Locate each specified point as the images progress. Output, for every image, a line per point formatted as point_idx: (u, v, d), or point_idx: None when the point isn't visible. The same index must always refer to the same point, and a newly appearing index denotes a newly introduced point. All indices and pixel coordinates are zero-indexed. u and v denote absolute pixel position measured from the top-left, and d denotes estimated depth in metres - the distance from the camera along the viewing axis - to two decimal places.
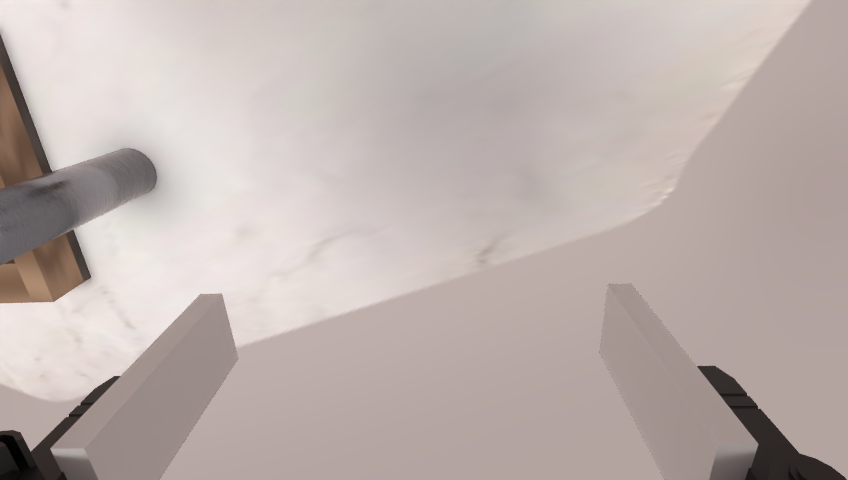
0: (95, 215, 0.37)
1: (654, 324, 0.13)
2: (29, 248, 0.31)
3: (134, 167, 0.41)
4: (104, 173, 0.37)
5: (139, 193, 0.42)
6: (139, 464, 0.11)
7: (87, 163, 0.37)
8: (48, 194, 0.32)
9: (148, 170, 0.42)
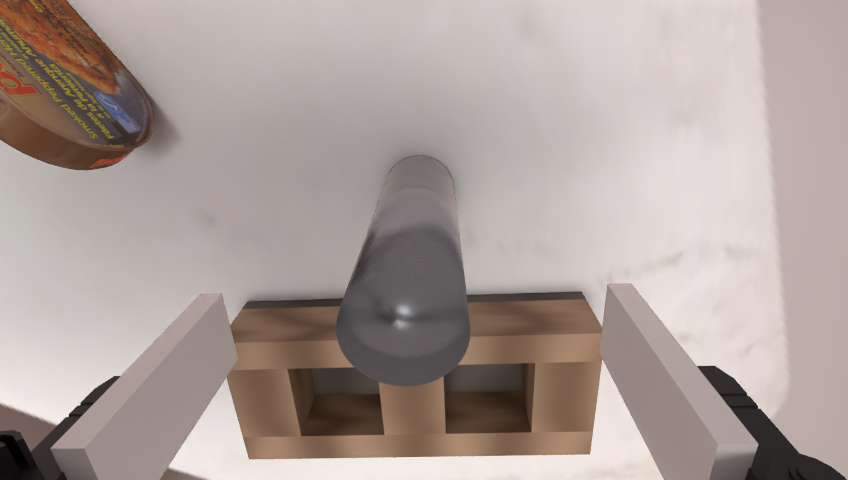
0: (445, 205, 0.22)
1: (654, 324, 0.13)
2: (450, 267, 0.16)
3: (400, 169, 0.27)
4: (388, 191, 0.24)
5: (442, 173, 0.27)
6: (139, 464, 0.11)
7: None
8: (374, 233, 0.18)
9: (412, 159, 0.28)
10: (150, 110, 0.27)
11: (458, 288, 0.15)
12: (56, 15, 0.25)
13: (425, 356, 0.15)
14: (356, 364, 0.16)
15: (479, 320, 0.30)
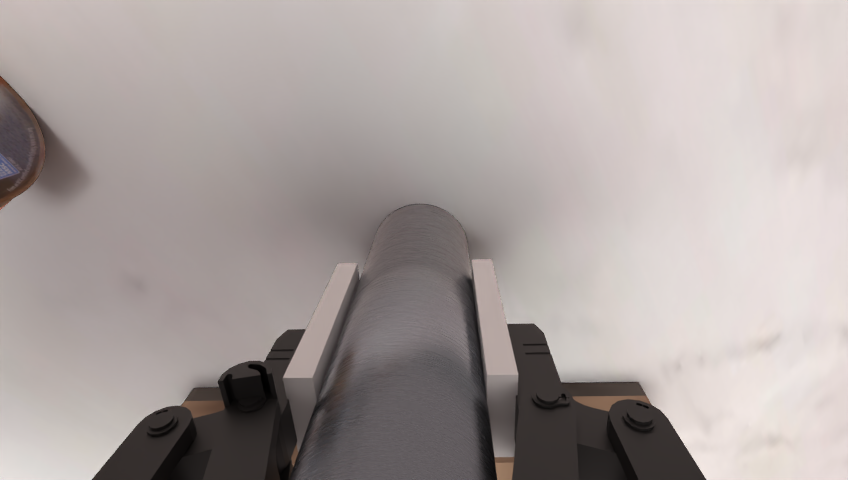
0: (458, 309, 0.13)
1: (491, 290, 0.15)
2: None
3: (391, 229, 0.18)
4: (370, 273, 0.15)
5: (452, 234, 0.19)
6: None
7: None
8: (334, 391, 0.10)
9: (410, 212, 0.20)
10: (40, 143, 0.19)
11: None
12: None
13: None
14: None
15: None
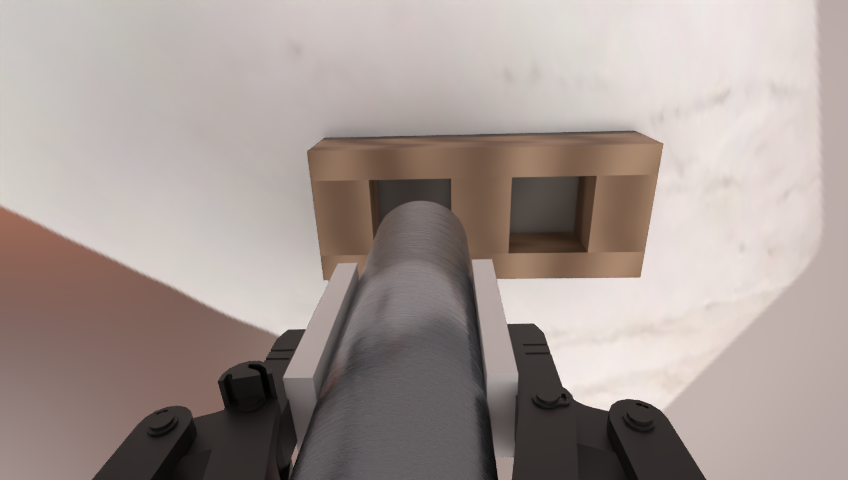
0: (458, 301, 0.14)
1: (491, 290, 0.15)
2: None
3: (393, 225, 0.19)
4: (373, 267, 0.16)
5: (452, 230, 0.19)
6: None
7: None
8: (338, 378, 0.11)
9: (411, 208, 0.20)
10: None
11: None
12: None
13: None
14: None
15: (544, 141, 0.32)
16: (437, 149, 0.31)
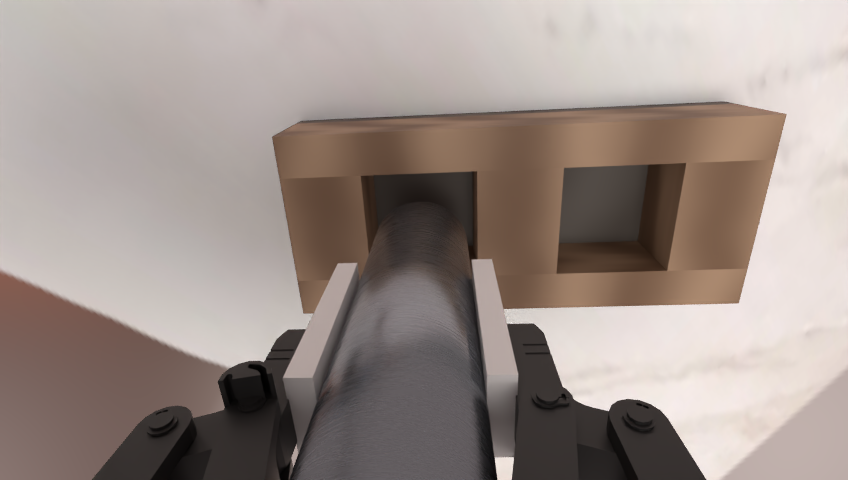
0: (458, 302, 0.14)
1: (491, 290, 0.15)
2: None
3: (392, 226, 0.19)
4: (372, 268, 0.16)
5: (452, 231, 0.19)
6: None
7: None
8: (338, 379, 0.11)
9: (411, 209, 0.20)
10: None
11: None
12: None
13: None
14: None
15: (607, 115, 0.23)
16: (457, 129, 0.22)
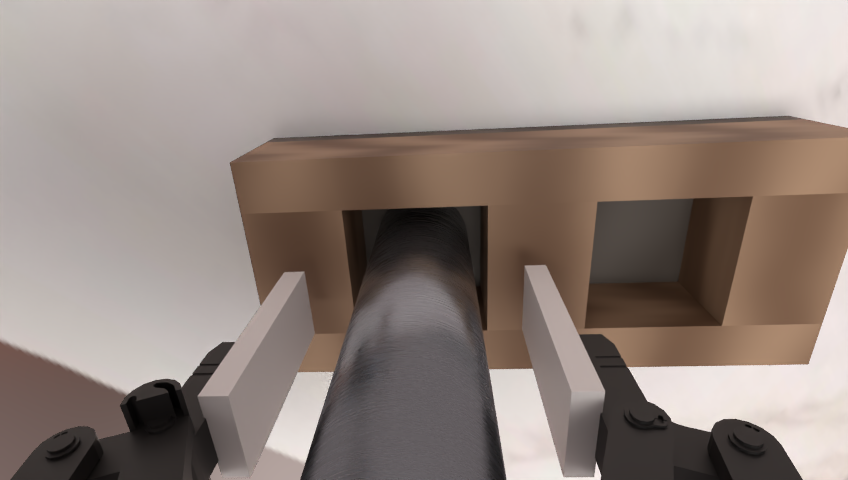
0: (461, 286, 0.15)
1: (553, 298, 0.14)
2: (480, 444, 0.09)
3: (396, 217, 0.20)
4: (379, 256, 0.17)
5: (453, 221, 0.20)
6: (258, 417, 0.13)
7: None
8: (353, 354, 0.12)
9: None
10: None
11: None
12: None
13: None
14: None
15: (650, 135, 0.18)
16: (463, 154, 0.17)
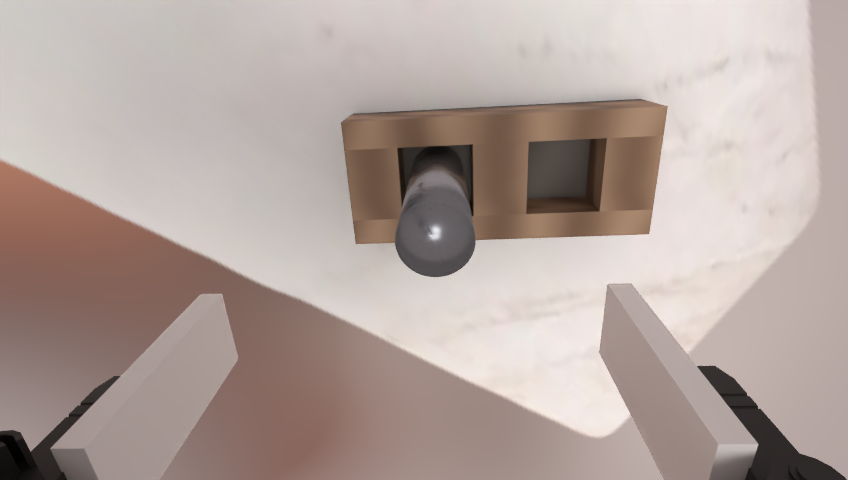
0: (457, 175, 0.32)
1: (654, 324, 0.13)
2: (462, 204, 0.26)
3: (424, 154, 0.37)
4: (417, 167, 0.34)
5: (454, 156, 0.37)
6: (139, 464, 0.11)
7: None
8: (413, 188, 0.28)
9: (432, 147, 0.38)
10: None
11: (468, 214, 0.25)
12: None
13: (448, 256, 0.25)
14: (406, 262, 0.26)
15: (557, 108, 0.35)
16: (460, 117, 0.34)
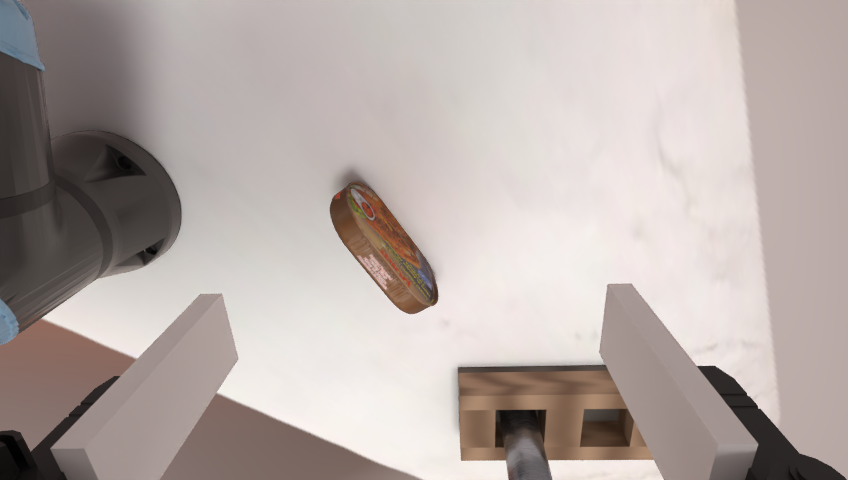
0: (540, 446, 0.49)
1: (654, 324, 0.13)
2: None
3: None
4: (511, 430, 0.51)
5: None
6: (139, 464, 0.11)
7: (503, 437, 0.52)
8: (519, 475, 0.46)
9: None
10: (432, 272, 0.51)
11: None
12: (394, 229, 0.49)
13: None
14: None
15: (602, 383, 0.53)
16: (539, 395, 0.52)
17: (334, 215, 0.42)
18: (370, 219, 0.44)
